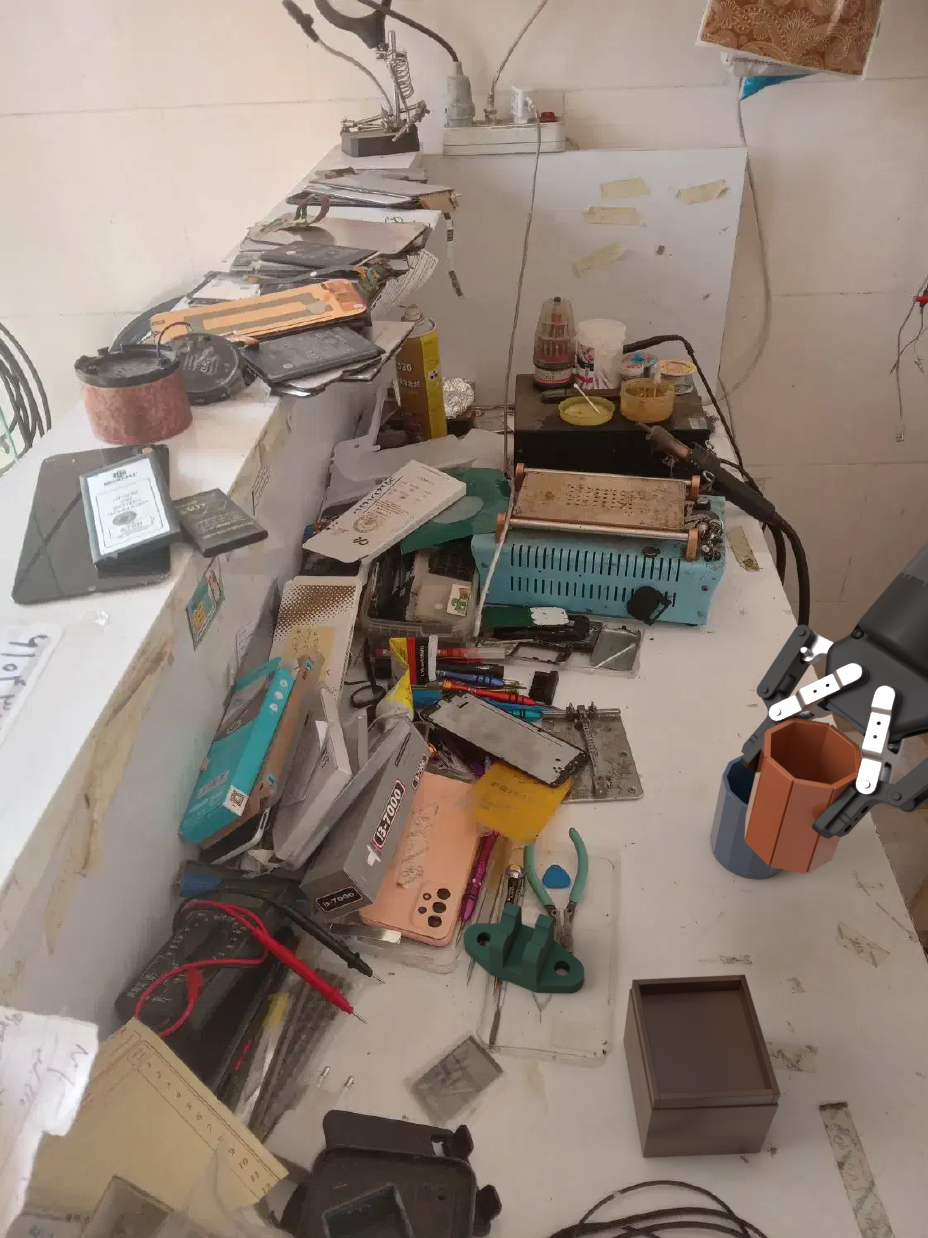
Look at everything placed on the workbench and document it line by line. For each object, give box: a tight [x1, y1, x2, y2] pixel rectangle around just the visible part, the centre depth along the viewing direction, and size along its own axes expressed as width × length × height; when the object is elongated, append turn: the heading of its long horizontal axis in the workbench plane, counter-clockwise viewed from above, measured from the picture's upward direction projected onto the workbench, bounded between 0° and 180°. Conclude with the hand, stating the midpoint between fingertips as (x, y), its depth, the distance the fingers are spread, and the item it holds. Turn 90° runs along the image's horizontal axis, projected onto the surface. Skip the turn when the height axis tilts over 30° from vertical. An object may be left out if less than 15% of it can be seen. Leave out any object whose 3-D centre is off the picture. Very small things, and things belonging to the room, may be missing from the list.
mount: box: [463, 901, 585, 994], centre depth 70 cm, size 11×4×5 cm, turn 66°
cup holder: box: [623, 974, 781, 1158], centre depth 60 cm, size 8×8×10 cm
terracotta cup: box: [745, 718, 862, 875], centre depth 57 cm, size 6×6×9 cm
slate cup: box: [709, 754, 782, 880], centre depth 77 cm, size 7×7×10 cm
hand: (783, 798), depth 56 cm, fingers closed on terracotta cup, 6 cm apart
